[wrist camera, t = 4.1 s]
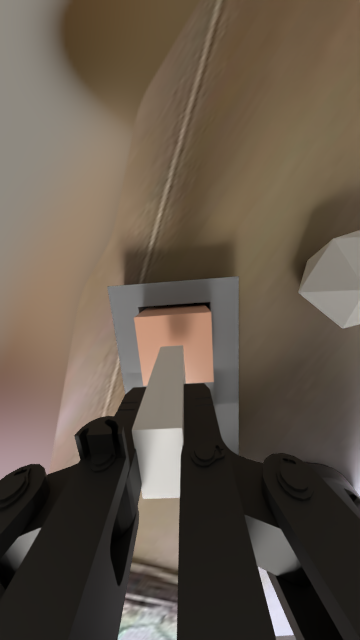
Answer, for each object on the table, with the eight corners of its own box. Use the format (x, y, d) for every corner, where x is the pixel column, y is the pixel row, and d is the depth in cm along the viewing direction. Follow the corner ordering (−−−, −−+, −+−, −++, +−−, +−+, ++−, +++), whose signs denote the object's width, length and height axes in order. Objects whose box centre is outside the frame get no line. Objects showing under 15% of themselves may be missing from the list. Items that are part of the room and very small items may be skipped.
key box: (226, 277, 20) (238, 276, 15) (228, 434, 25) (238, 468, 20) (123, 285, 20) (107, 286, 16) (146, 438, 25) (138, 471, 21)
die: (269, 302, 21) (359, 362, 14) (295, 224, 15) (465, 263, 9) (315, 283, 23) (412, 327, 17) (353, 209, 18) (525, 230, 11)
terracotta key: (203, 303, 18) (211, 312, 13) (206, 356, 19) (213, 381, 15) (147, 307, 18) (133, 317, 13) (153, 359, 20) (143, 385, 15)
